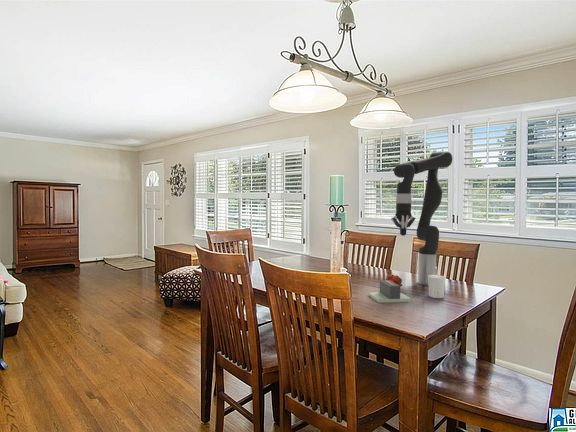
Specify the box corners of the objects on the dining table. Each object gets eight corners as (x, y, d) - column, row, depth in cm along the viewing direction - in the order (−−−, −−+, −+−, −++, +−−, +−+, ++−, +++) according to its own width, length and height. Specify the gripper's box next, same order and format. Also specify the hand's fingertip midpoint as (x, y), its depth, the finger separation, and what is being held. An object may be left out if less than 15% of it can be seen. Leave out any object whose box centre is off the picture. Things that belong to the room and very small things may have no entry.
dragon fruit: (398, 290, 195) (390, 298, 186) (385, 279, 198) (377, 287, 189) (407, 279, 191) (400, 287, 182) (394, 268, 194) (386, 276, 185)
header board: (399, 294, 181) (399, 285, 181) (410, 301, 169) (411, 292, 169) (368, 295, 179) (368, 286, 178) (378, 302, 167) (378, 293, 167)
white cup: (444, 295, 181) (445, 275, 181) (445, 299, 174) (446, 278, 173) (427, 293, 184) (428, 274, 183) (427, 297, 176) (428, 277, 176)
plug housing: (389, 292, 180) (389, 279, 180) (400, 298, 168) (400, 285, 168) (379, 292, 179) (379, 280, 179) (389, 299, 168) (390, 286, 167)
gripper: (412, 202, 194) (411, 234, 195) (388, 202, 192) (388, 234, 193) (419, 202, 186) (418, 236, 187) (394, 202, 184) (394, 236, 185)
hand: (403, 235), depth 190 cm, fingers closed
